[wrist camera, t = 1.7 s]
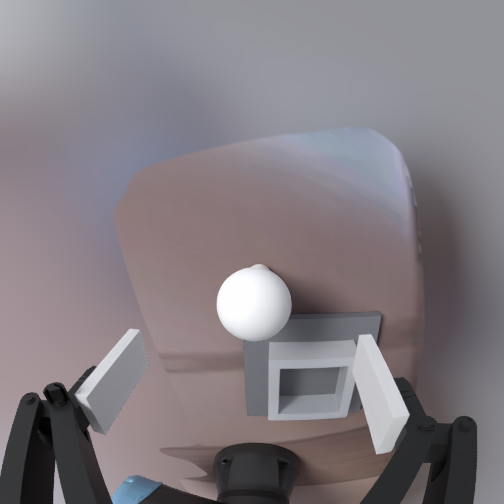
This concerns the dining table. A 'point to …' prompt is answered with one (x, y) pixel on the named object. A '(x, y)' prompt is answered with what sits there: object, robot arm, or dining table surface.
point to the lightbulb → (254, 303)
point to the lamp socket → (307, 367)
